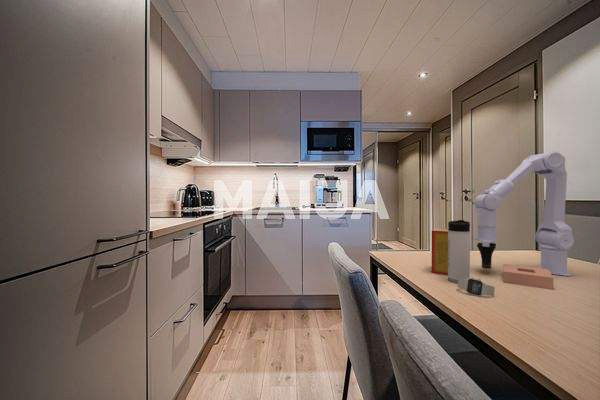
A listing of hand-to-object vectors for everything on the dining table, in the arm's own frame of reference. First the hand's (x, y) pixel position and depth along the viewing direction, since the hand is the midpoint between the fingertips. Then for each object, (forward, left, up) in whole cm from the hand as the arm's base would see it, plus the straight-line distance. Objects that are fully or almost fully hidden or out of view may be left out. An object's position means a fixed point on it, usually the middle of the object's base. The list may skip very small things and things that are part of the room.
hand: (486, 263), depth 101 cm
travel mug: (+18, -7, -4) cm, 20 cm away
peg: (0, 0, -2) cm, 2 cm away
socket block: (+5, +11, -3) cm, 12 cm away
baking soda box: (+8, -13, -4) cm, 16 cm away
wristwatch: (+28, -2, -4) cm, 28 cm away
